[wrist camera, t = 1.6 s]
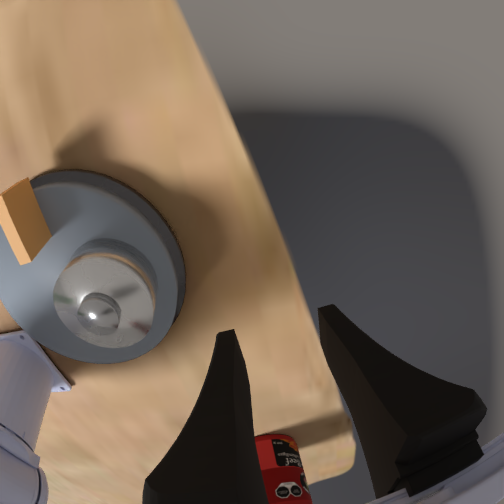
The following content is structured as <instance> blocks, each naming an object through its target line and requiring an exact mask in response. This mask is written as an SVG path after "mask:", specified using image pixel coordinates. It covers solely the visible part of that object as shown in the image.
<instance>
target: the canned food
mask: <svg viewBox="0 0 504 504" xmlns="http://www.w3.org/2000/svg"><path fill="white" fill-rule="evenodd" d="M255 443H256V448H257V453H258V458H259V463H260V467H261V472H262V477H263V481H264V485H265V490H266V494H267V498H268V502H269V504H312V499H311V496H310V492H309V488H308V485H307V481H306V477H305V473H304V470H303V466H302V462H301V458H300V455H299V451H298V447H297V444H296V443H295V441H294V440H293V439H292V438H291V437H289V436H286V435H281V434H269V435H262V436H257V437H255Z"/></svg>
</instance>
